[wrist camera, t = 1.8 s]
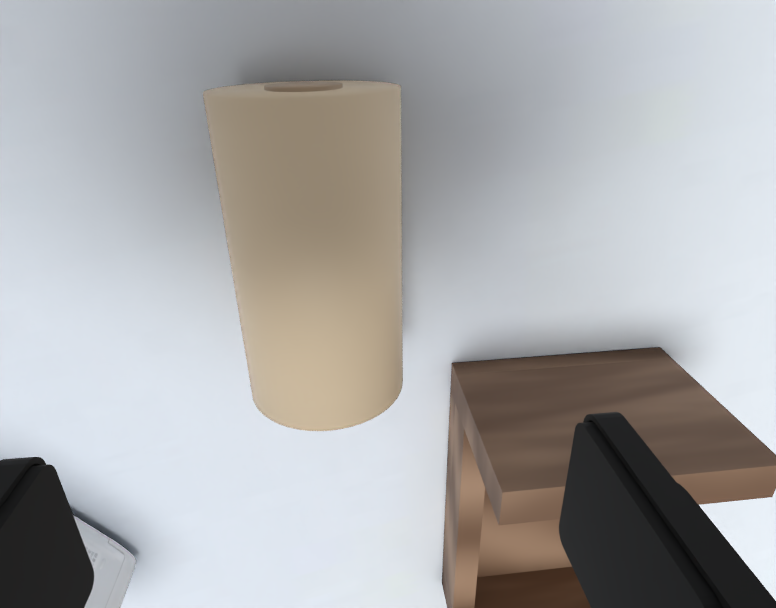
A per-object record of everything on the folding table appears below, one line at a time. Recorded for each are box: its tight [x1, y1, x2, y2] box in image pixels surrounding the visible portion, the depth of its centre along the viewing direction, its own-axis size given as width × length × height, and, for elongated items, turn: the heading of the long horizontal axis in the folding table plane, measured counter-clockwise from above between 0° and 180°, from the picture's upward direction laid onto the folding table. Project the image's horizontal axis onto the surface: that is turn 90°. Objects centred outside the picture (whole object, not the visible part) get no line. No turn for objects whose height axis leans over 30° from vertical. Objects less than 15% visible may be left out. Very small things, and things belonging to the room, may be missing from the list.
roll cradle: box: [442, 347, 776, 608], centre depth 26 cm, size 16×10×8 cm, turn 1°
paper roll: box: [203, 80, 403, 431], centre depth 19 cm, size 11×6×6 cm, turn 1°
